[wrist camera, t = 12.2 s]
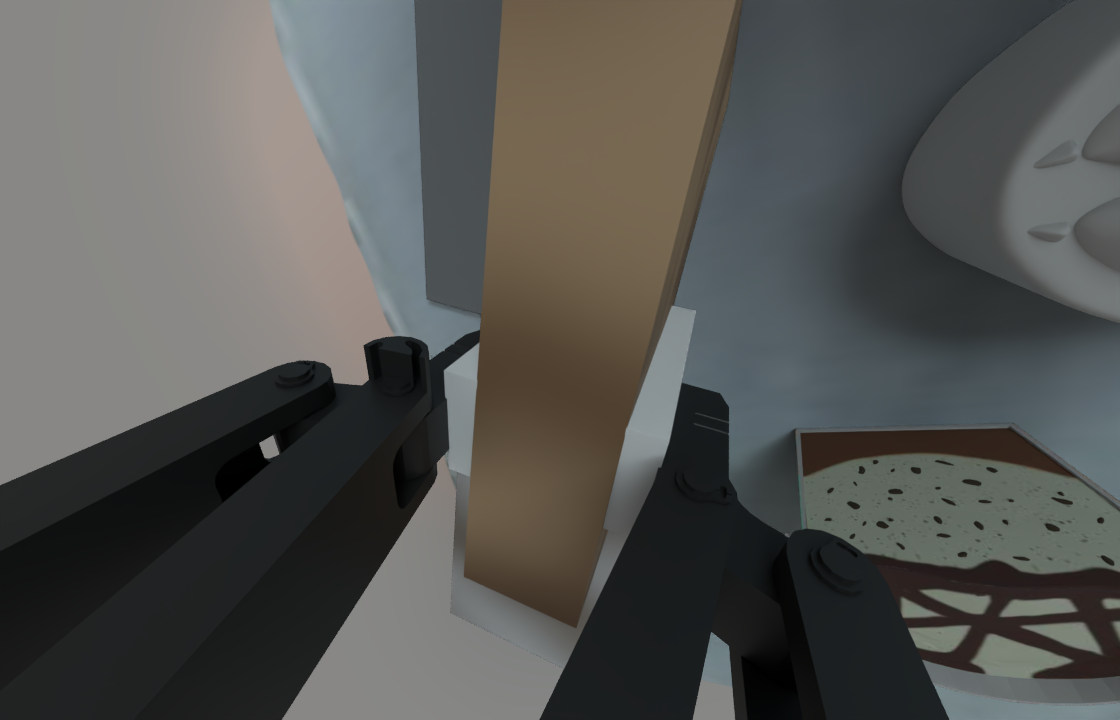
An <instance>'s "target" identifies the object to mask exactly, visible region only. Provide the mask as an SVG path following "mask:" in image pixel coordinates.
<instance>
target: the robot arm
mask: <svg viewBox="0 0 1120 720" xmlns="http://www.w3.org/2000/svg"><path fill="white" fill-rule="evenodd" d="M695 315H696V311H694V310H690V309H685V308H681V307H676V306H672V307H671V310H670V312H669V315H668V318H667V321H666V323H665V326H664V329H663V331H662V334H661V337H660V340H659V342H658V345H657V348H656V351H655V353H654V356H653V359H652V362H651V364H650V367H649V370H648V372H647V375H646V378H645V381H644V383H643V386H642V389H641V392H640V394H639V397H638V400H637V402H636V405H635V408H634V411H633V413H632V416H631V419H630V422H629V424H628V427H627V428H626V432H625V439H624V443H623V447H622V451H621V455H620V459H619V464H618V468H617V472H616V476H615V480H614V484H613V488H612V492H611V496H610V500H609V505H608V509H607V513H606V517H605V521H604V525H603V528H604V529H606V530H609V531H612V532H614V533H617V534H619V535H622V536H625V537H627V539H626V541H625V543H624V545H623V547H622V550H621V552H620V554H619V556H618V558H617V560H616V562H615V564H614V566H613V568H612V570H611V572H610V574H609V577H608V579H607V581H606V583H605V585H604V587H603V589H602V591H601V593H600V595H599V597H598V599H597V601H596V604H595V606H594V608H593V610H592V612H591V614H590V616H589V618H588V620H587V622H586V624H585V626H584V628H583V631H582V633H581V635H580V637H579V639H578V641H577V643H576V645H575V647H574V649H573V651H572V653H571V655H570V657H569V660H568V662H567V664H566V666H565V668H564V670H563V672H562V674H561V676H560V678H559V680H558V682H557V684H556V687H555V689H554V691H553V693H552V695H551V697H550V699H549V701H548V703H547V705H546V707H545V709H544V712H543V714H542V716H541V718H540V720H693V715H694V710H695V705H696V700H697V696H698V691H699V686H700V682H701V677H702V672H703V667H704V662H705V658H706V653H707V648H708V643H709V639H710V634H711V632H712V633H714V634H715V635H716V636H718V637H719V638H720V639H721V640H723V641H724V642H725V643H726V644H728V645H729V650H730V662H731V674H732V686H733V698H734V710H735V720H949V718H948V716H947V714H946V711H945V709H944V707H943V705H942V703H941V700H940V698H939V696H938V694H937V691H936V689H935V687H934V685H933V683H932V680H931V678H930V676H929V674H928V672H927V669H926V667H925V665H924V663H923V661H922V658H921V656H920V654H919V652H918V650H917V647H916V645H915V643H914V641H913V639H912V636H911V634H910V632H909V630H908V627H907V625H906V623H905V621H904V619H903V616H902V614H901V612H900V610H899V608H898V605H897V603H896V601H895V599H894V597H893V594H892V592H891V590H890V588H889V586H888V584H887V582H886V580H885V579H884V577H883V576H882V574H881V573H880V571H879V570H878V568H877V566H876V565H874V564H873V563H872V562H871V561H870V560H869V559H868V558H867V557H866V556H865V555H864V554H863V553H862V552H861V551H860V550H859V549H857V548H856V547H854V546H853V545H851V544H850V543H848V542H847V541H845V540H844V539H842V538H840V537H837V536H835V535H833V534H830V533H828V532H825V531H823V530H815V529H808V528H806V529H802V530H798V531H795V532H793V533H792V535H791V536H790V537H789V538H788V537H787V536H785V535H783V534H782V533H780V532H778V531H777V530H775V529H773V528H772V527H770V526H768V525H767V524H765V523H763V522H762V521H760V520H759V519H758V518H756V517H755V516H753V515H752V514H751V513H750V512H748V511H747V510H746V509H745V508H744V507H743V506H742V505H741V504H740V502H739V501H738V500H737V492H736V491H735V489H734V487H733V485H732V484H731V482H730V480H729V435H728V433H729V423H728V422H729V407H728V405H727V404H726V402H725V400H724V399H723V397H722V396H721V394H720V393H716V392H713V391H709V390H706V389H702V388H698V387H695V386H691V385H687V384H684V383H682V378H683V373H684V368H685V363H686V358H687V354H688V349H689V344H690V339H691V334H692V329H693V325H694V320H695ZM479 341H480V330H478V331H475V332H472V333H469V334H466V335H465V336H463V337H462V338H460V339H459V340H458V341H456V342H455V343H454V345H453V344H452V345H451V346H449V347H448V348H446V349H445V351H442V352H441V353H439V354H438V355H436V356H435V357H434V358H432V359H431V360H429V351H428V346H427V345H426V344H425V343H424V342H422V341H421V340H418V339H415V338H412V337H403V336H394V337H385V338H381V339H377V340H373V341H371V342H369V343H367V344H365V345H364V350H365V357H366V363H367V369H368V375H369V380H368V381H367V382H366V383H365V384H364V385H362V386H360V385H349V384H338V383H334V382H333V377H332V373H331V368H329V367H328V366H327V365H326V364H324V363H319V362H316V361H296V362H291V363H286V364H284V365H281V366H277V367H274V368H272V369H269V370H267V371H265V372H263V373H260V374H258V375H256V376H253V377H251V378H249V379H246V380H244V381H242V382H239V383H237V384H235V385H232V386H230V387H228V388H225V389H223V390H221V391H219V392H216V393H214V394H211V395H209V396H207V397H204V398H202V399H200V400H197V401H195V402H193V403H191V404H188V405H186V406H184V407H181V408H179V409H177V410H174V411H172V412H170V413H167V414H165V415H163V416H160V417H158V418H156V419H153V420H151V421H149V422H146V423H144V424H142V425H139V426H137V427H135V428H132V429H130V430H128V431H125V432H123V433H121V434H118V435H116V436H114V437H112V438H109V439H107V440H105V441H102V442H100V443H98V444H95V445H93V446H91V447H88V448H86V449H84V450H81V451H79V452H77V453H74V454H72V455H70V456H67V457H65V458H63V459H60V460H58V461H56V462H53V463H51V464H49V465H47V466H44V467H42V468H39V469H37V470H35V471H32V472H30V473H28V474H26V475H23V476H21V477H19V478H16V479H14V480H12V481H10V482H7V483H5V484H2V485H0V720H282V718H283V717H284V715H285V714H286V712H287V711H288V709H289V708H290V706H291V704H292V703H293V701H294V700H295V698H296V697H297V695H298V694H299V692H300V690H301V689H302V687H303V685H304V684H305V683H306V681H307V680H308V678H309V676H310V675H311V673H312V672H313V670H314V668H315V667H316V665H317V664H318V662H319V661H320V659H321V658H322V656H323V654H324V653H325V652H326V650H327V648H328V647H329V645H330V643H331V642H332V641H333V639H334V638H335V636H336V634H337V633H338V631H339V630H340V628H341V627H342V625H343V624H344V622H345V620H346V619H347V617H348V616H349V614H350V613H351V611H352V610H353V608H354V606H355V604H356V603H357V602H358V600H359V599H360V597H361V596H362V594H363V592H364V591H365V589H366V588H367V586H368V585H369V583H370V582H371V580H372V578H373V577H374V575H375V574H376V572H377V571H378V569H379V567H380V566H381V564H382V563H383V561H384V560H385V558H386V557H387V555H388V554H389V552H390V550H391V549H392V547H393V546H394V544H395V542H396V541H397V539H398V538H399V536H400V535H401V533H402V532H403V530H404V529H405V527H406V526H407V524H408V522H409V521H410V519H411V518H412V516H413V515H414V513H415V512H416V510H417V508H418V507H419V505H420V504H421V502H422V501H423V499H424V498H425V496H426V494H427V493H428V491H429V490H430V488H431V487H432V485H433V484H434V482H435V479H436V476H437V462H438V461H439V460H440V459H441V457H442V456H443V455H444V454H445V453H446V452H447V451H448V464H449V469H451V470H454V471H456V472H459V473H461V474H464V475H467V476H469V477H470V474H471V459H472V445H473V430H474V415H475V400H476V389H477V382H478V380H477V371H478V356H479ZM272 435H273V436H274V439H275V442H276V445H277V448H278V451H279V455H278V456H275V457H273V458H270V459H267V458H264V456H263V453H262V450H261V447H260V445H259V443H260V442H261V441H263V440H265V439H267V438H269V437H270V436H272Z"/></svg>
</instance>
